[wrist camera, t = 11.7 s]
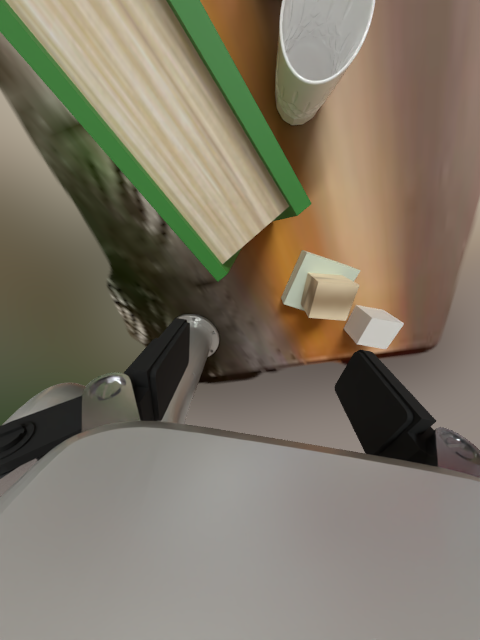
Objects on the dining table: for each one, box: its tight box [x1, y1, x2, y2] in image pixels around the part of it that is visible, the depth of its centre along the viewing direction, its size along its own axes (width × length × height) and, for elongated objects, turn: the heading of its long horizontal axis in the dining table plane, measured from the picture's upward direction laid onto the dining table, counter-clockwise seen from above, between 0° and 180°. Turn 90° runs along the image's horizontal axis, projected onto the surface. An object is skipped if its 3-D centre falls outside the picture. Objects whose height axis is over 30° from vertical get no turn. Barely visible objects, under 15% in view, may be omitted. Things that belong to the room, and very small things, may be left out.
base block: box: [281, 250, 360, 311], centre depth 35 cm, size 10×10×4 cm
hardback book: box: [0, 0, 311, 281], centre depth 19 cm, size 18×7×24 cm, turn 39°
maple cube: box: [301, 273, 359, 321], centre depth 30 cm, size 6×6×6 cm
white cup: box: [275, 0, 375, 125], centre depth 20 cm, size 8×8×10 cm
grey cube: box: [344, 305, 404, 349], centre depth 37 cm, size 6×6×6 cm
